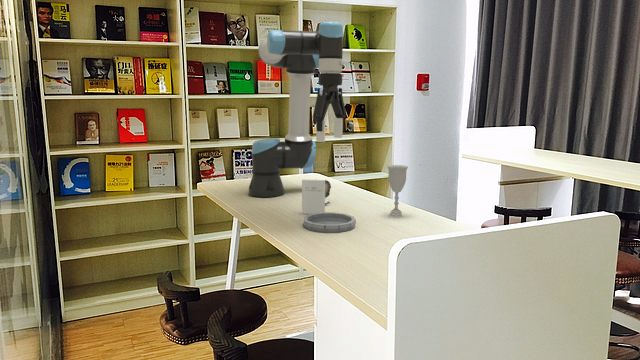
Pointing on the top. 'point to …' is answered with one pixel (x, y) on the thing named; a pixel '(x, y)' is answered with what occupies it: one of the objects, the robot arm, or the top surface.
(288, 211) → the top surface
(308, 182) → the external hard drive
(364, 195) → the top surface
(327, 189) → the eagle figurine
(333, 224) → the dish
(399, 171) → the chalice
